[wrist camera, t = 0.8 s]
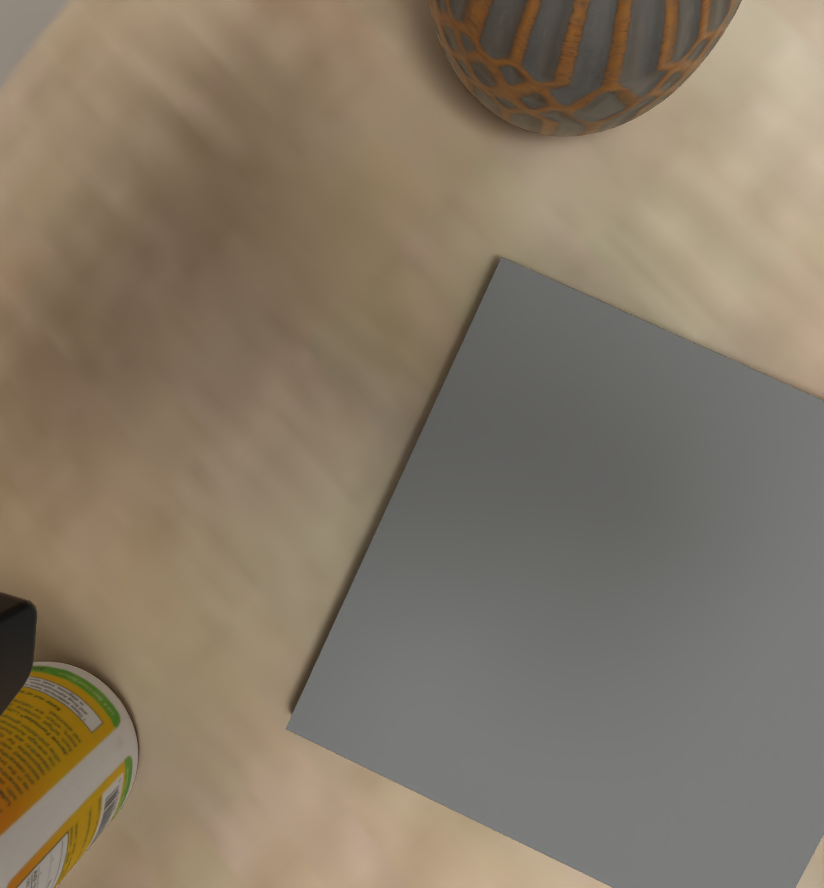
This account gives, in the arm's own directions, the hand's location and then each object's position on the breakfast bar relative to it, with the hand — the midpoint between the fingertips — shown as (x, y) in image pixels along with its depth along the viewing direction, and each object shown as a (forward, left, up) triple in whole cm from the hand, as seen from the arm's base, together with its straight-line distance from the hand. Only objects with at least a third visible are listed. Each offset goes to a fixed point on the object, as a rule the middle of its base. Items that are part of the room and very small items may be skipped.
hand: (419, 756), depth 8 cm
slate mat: (0, -5, -12) cm, 13 cm away
